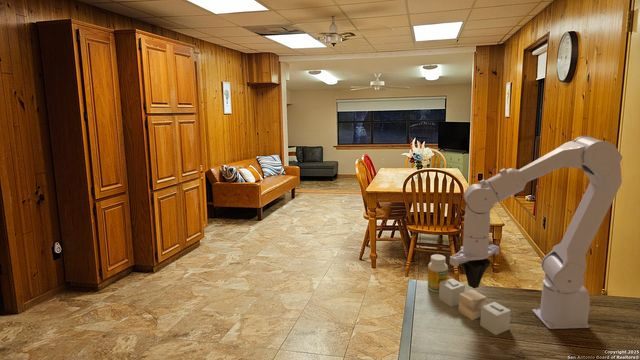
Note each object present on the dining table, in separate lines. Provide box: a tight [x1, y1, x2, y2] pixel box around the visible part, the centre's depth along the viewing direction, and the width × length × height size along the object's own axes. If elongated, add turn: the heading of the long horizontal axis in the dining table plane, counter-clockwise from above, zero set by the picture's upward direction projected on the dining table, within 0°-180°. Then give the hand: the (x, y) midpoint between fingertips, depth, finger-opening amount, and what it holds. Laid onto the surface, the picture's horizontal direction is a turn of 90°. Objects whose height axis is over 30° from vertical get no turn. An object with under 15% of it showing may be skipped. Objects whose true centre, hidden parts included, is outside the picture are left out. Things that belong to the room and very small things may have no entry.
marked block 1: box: [479, 301, 512, 336], centre depth 96 cm, size 4×4×5 cm
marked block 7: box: [438, 277, 466, 307], centre depth 108 cm, size 4×4×5 cm
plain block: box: [457, 288, 487, 321], centre depth 102 cm, size 4×4×5 cm
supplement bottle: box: [427, 253, 449, 294], centre depth 114 cm, size 5×5×10 cm
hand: (473, 286), depth 101 cm, fingers closed
